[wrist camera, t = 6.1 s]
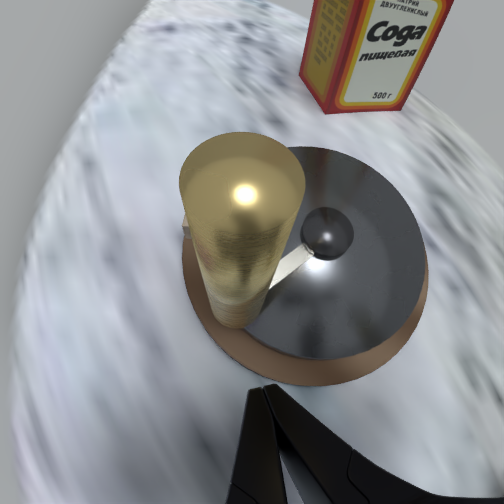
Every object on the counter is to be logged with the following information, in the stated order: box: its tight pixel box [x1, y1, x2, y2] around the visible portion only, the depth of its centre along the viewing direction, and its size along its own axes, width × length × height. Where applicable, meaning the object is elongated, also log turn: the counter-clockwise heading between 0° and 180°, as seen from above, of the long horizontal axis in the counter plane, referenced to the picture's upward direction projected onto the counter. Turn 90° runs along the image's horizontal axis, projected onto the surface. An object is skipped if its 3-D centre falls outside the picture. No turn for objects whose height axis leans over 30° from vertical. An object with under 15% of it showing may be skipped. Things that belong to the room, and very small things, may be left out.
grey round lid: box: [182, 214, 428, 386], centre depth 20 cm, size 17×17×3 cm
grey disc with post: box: [179, 132, 425, 361], centre depth 14 cm, size 15×14×12 cm
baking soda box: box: [299, 0, 454, 114], centre depth 21 cm, size 10×6×16 cm
